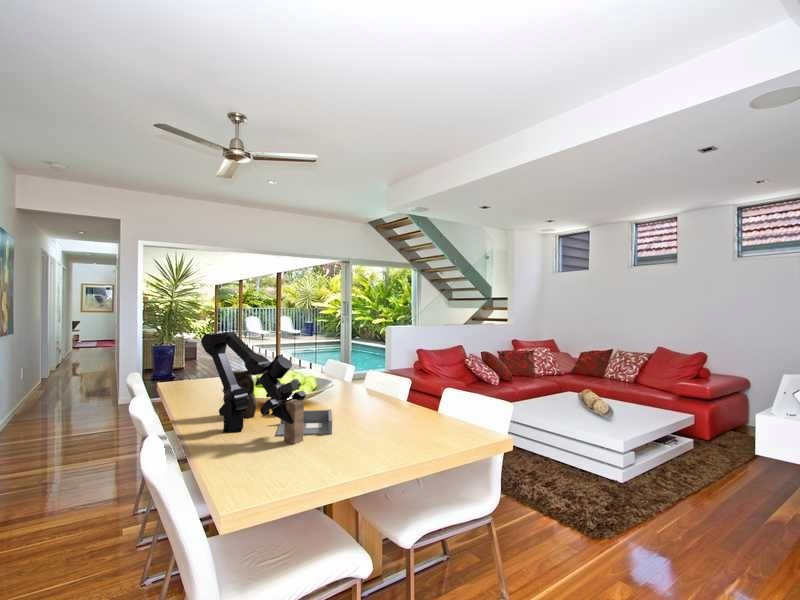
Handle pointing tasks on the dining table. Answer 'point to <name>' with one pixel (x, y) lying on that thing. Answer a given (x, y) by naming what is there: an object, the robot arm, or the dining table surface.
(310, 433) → the tray
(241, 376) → the owl
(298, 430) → the walnut column
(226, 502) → the dining table surface
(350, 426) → the dining table surface
